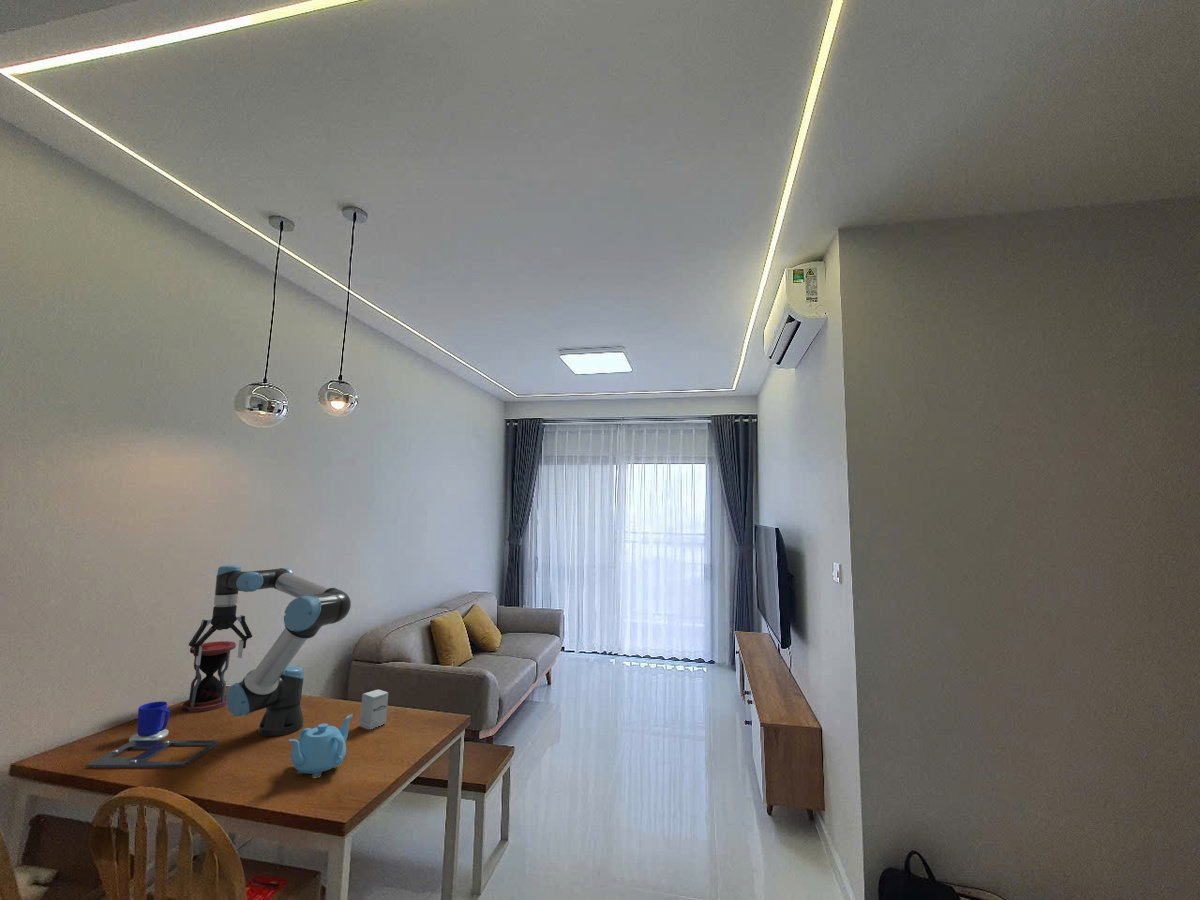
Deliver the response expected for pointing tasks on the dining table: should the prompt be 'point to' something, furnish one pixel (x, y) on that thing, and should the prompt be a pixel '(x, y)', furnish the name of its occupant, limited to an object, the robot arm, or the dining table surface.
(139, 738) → the pale grey rounded piece
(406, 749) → the dining table surface
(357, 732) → the dining table surface
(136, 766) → the gray cutout board
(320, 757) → the teapot
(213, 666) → the hourglass
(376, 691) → the supplement box
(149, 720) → the mug
